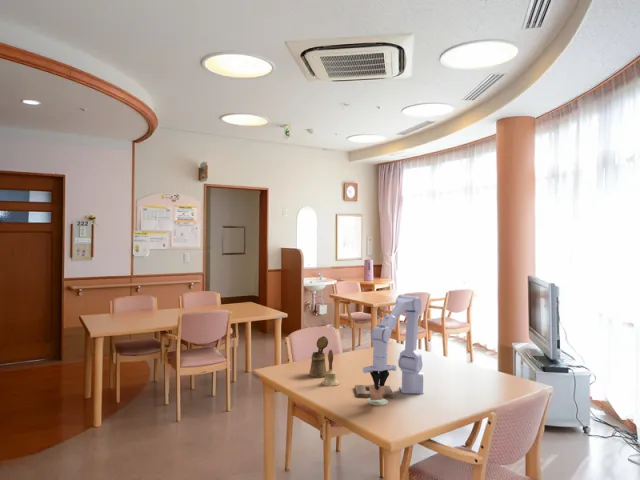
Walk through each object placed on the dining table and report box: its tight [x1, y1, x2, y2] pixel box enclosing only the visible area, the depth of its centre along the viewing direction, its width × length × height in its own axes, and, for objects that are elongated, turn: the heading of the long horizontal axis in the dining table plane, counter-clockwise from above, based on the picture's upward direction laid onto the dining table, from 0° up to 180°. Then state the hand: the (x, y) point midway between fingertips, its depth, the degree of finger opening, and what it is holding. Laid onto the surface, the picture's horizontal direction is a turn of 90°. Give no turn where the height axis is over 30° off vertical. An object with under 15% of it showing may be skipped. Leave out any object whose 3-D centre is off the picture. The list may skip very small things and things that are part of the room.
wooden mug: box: [309, 335, 329, 379], centre depth 229 cm, size 9×14×18 cm, turn 163°
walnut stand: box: [354, 384, 395, 399], centre depth 202 cm, size 16×12×2 cm
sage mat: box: [366, 397, 389, 406], centre depth 191 cm, size 9×9×1 cm
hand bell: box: [321, 349, 340, 387], centre depth 214 cm, size 8×8×16 cm
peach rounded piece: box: [368, 384, 385, 400], centre depth 187 cm, size 9×5×6 cm, turn 20°
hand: (379, 388), depth 187 cm, fingers closed on peach rounded piece
